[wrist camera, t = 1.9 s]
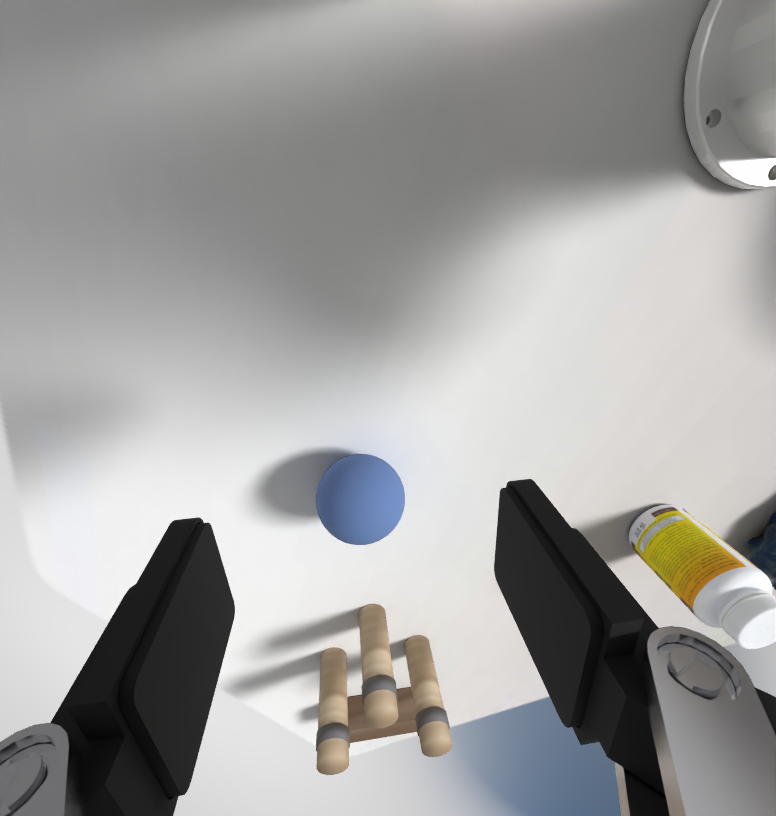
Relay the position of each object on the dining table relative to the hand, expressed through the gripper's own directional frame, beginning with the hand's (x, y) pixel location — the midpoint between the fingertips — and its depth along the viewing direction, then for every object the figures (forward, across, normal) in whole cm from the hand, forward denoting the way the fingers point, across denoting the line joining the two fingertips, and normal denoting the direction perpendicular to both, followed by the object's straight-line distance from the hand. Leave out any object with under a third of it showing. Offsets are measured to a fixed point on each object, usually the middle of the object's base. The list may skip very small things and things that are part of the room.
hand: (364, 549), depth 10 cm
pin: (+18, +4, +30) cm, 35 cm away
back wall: (+18, 0, +37) cm, 41 cm away
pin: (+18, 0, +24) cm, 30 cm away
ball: (+15, 0, +10) cm, 18 cm away
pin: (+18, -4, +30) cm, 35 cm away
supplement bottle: (+18, -26, +18) cm, 37 cm away
